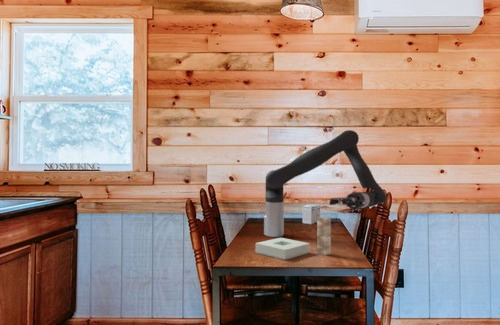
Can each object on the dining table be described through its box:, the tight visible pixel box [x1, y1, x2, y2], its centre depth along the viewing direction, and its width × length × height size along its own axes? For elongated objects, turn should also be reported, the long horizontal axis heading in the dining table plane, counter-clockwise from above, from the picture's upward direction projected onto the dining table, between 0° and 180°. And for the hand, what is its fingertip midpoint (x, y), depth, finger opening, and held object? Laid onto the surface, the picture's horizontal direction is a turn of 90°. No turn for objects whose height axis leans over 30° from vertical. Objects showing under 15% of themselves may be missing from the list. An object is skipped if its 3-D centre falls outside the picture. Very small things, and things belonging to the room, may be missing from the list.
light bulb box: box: [301, 203, 321, 225], centre depth 230 cm, size 11×7×11 cm, turn 141°
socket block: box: [254, 237, 311, 261], centre depth 156 cm, size 16×16×4 cm
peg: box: [316, 216, 332, 256], centre depth 154 cm, size 4×4×15 cm
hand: (338, 203), depth 162 cm, fingers open, 8 cm apart
